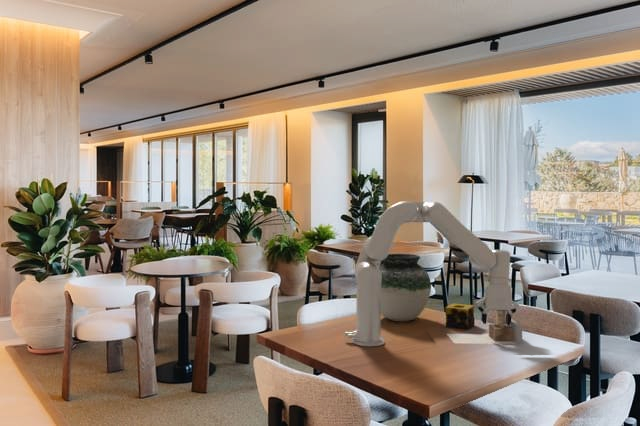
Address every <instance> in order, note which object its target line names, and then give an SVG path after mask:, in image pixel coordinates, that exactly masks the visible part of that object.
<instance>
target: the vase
mask: <svg viewBox="0 0 640 426" xmlns="http://www.w3.org/2000/svg"><path fill="white" fill-rule="evenodd" d="M420 258H421V257H420V255H417V254H410V253H408V254H407V253H389V254H388V256H387V258H386V259H384V260H382V262H383V263H381V264H380V267H379V269H380V271H381V275H382V284H381V316H383V317H384V318H386V319H387V320H390V321H394V322H409V321H412V320H414V319H417V318H418V317H419V316H420V315H421V313H423V311H424V309H425V307H426V306H427V303H428V301H429V298H430V295H431V293H432V292H431V290H432V283H431V278H430V276H429V274H428V272H427V271H426V269H425V268H424V267H423V266H421V265H420V264H419V263H418V262H419V260H420Z"/></svg>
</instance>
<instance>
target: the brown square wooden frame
mask: <svg viewBox="0 0 640 426" xmlns="http://www.w3.org/2000/svg"><path fill="white" fill-rule="evenodd" d="M488 334H489V337H490V338H491V339H493V340H494V341H514V328H512V327H511V326H509V325H507V324H505V328H497V323H488Z"/></svg>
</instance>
